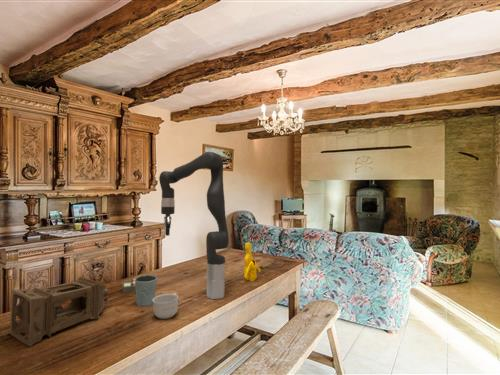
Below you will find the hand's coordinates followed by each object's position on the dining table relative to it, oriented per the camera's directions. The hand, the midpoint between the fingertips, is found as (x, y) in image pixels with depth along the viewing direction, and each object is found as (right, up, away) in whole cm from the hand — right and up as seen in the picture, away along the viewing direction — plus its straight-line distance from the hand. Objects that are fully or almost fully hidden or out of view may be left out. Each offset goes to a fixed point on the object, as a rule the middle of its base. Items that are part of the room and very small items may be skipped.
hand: (167, 235), depth 175 cm
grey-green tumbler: (-2, -28, -31) cm, 42 cm away
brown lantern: (-26, -28, -52) cm, 64 cm away
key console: (-13, -27, -12) cm, 33 cm away
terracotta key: (-13, -25, -15) cm, 32 cm away
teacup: (+12, -28, -43) cm, 53 cm away
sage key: (-17, -26, -16) cm, 35 cm away
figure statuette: (+48, -28, +8) cm, 57 cm away
